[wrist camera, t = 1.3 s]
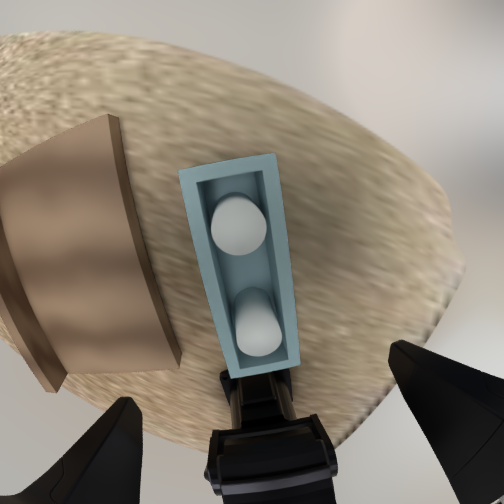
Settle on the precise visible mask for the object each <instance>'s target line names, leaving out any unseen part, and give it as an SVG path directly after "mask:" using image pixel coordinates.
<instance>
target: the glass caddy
mask: <svg viewBox="0 0 504 504" xmlns="http://www.w3.org/2000/svg"><path fill="white" fill-rule="evenodd" d="M178 174H179V179H180V184H181V189H182V194H183V199H184V203H185V208H186V213H187V217H188V222H189V226H190V231H191V235H192V239H193V244H194V248H195V252H196V256H197V260H198V264H199V268H200V272H201V276H202V280H203V284H204V288H205V292H206V295H207V299H208V303H209V306H210V310H211V314H212V317H213V321H214V324H215V328H216V331H217V335H218V338H219V342H220V345H221V348H222V352H223V355H224V358H225V361H226V365H227V368H228V371H229V374H230V377H231V379H232V378H238V377H244V376H250V375H256V374H261V373H266V372H271V371H276V370H281V369H285V368H290V367H294V366H298V365H301V363H300V351H299V339H298V328H297V317H296V307H295V297H294V288H293V279H292V270H291V261H290V253H289V245H288V237H287V229H286V221H285V214H284V207H283V199H282V192H281V186H280V179H279V172H278V166H277V159H276V153H269V154H263V155H256V156H249V157H243V158H237V159H232V160H226V161H221V162H215V163H210V164H205V165H200V166H196V167H191V168H186V169H182V170H178Z"/></svg>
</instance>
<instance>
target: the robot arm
mask: <svg viewBox="0 0 504 504" xmlns="http://www.w3.org/2000/svg"><path fill="white" fill-rule="evenodd" d="M388 363H389V367H390V369H391V371H392V373H393V375H394V378H395V380H396V382H397V384H398V386H399V389H400V391H401V393H402V395H403V397H404V399H405V401H406V403H407V405H408V407H409V408H410V410H411V412H412V413H413V415H414V417H415V419H416V420H417V422H418V424H419V426H420V427H421V429H422V431H423V433H424V434H425V436H426V438H427V440H428V441H429V443H430V445H431V447H432V449H433V451H434V453H435V455H436V457H437V458H438V460H439V462H440V464H441V466H442V468H443V470H444V472H445V474H446V476H447V478H448V480H449V482H450V484H451V486H452V488H453V490H454V492H455V494H456V497H457V499H458V501H459V503H460V504H491V503H492V502H494V501H496V500H497V499H500V500H499V501H498V502H497V503H496V504H504V379H502V378H499V377H496V376H493V375H490V374H488V373H485V372H481V371H480V370H477V369H474V368H472V367H469V366H467V365H464V364H462V363H459V362H457V361H454V360H451V359H449V358H446V357H444V356H441V355H439V354H436V353H434V352H432V351H429V350H427V349H424V348H422V347H419V346H417V345H415V344H412V343H410V342H407V341H405V340H398V341H396V342H393V343H392V344H391V346H390V352H389V358H388ZM224 376H226V377H224ZM220 381H221V384H222V386H223V389H224V392H225V394H226V397H227V400H228V402H229V405H230V408H231V420H232V429H229V430H219V429H218V430H213V432H212V437H210V445H209V453H208V462H207V466H206V469H205V471H204V477H205V479H206V480H208V481H209V482H210V483H211V486H212V488H213V491H214V493H215V494H216V495H217V496H218V495H222V498H223V503H224V504H336V500H335V493H334V486H333V480H332V477H334V476H336V475H337V473H338V464H337V458H336V454H335V450H334V447H333V444H332V442H331V440H330V438H329V437H328V435H327V433H326V431H325V429H324V427H323V425H322V424H321V422H320V420H319V418H318V416H317V414H313V415H310V416H309V417H304V418H300V419H297V418H296V414H295V411H294V407H293V404H292V402H293V398H292V389H291V380H290V371H289V368H285V369H281V370H276V371H271V372H266V373H261V374H256V375H250V376H244V377H238V378H232V379H231V377H230V374H229V371H226V372H222V373H220ZM142 419H143V417H142V412H141V410H140V409H139V407H138V406H137V404H136V403H135V402H134V400H133V399H132V398H131V397H120V398H118V399H117V400H116V401H115V403H114V404H113V405H112V406H111V407H110V408H109V409H108V410H107V411H106V412H105V413H104V414H103V415H102V416H101V417H100V418H99V419H98V420H97V421H96V422H95V423H94V424H93V425H92V426H91V427H90V428H89V429H88V430H87V432H85V433H84V435H82V437H81V438H80V439H79V440H78V441H77V442H76V443H75V444H74V445H73V446H72V447H71V448H70V449H69V450H68V451H67V452H66V453H65V454H64V455H63V457H61V458H60V459H59V460H58V461H57V462H56V463H55V464H54V465H53V466H52V467H51V468H50V469H49V470H48V471H47V472H46V473H44V474H43V475H42V476H41V477H39V478H38V479H37V480H36V481H34V482H33V483H32V484H31V485H29V486H28V487H27V488H26V489H24V490H23V491H22V492H20V493H18V494H15V495H10V496H0V504H139V503H140V481H141V468H142V455H143V437H142V436H143V434H142V433H143V432H142Z"/></svg>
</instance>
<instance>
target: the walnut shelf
mask: <svg viewBox="0 0 504 504" xmlns="http://www.w3.org/2000/svg"><path fill="white" fill-rule="evenodd" d="M0 316H1V318H2V320H3V322H4V324H5V326H6V328H7V330H8V332H9V334H10V335H11V337H12V339H13V341H14V343H15V344H16V346H17V348H18V350H19V351H20V353H21V355H22V356H23V358H24V360H25V361H26V363H27V364H28V366H29V368H30V369H31V370H32V372H33V374H34V375H35V377H36V378H37V379H38V381H39V382H40V384H41V385H42V387H43V388H44V389H45V391H46V392H51V393H57V392H58V390H59V389H60V387H61V385H62V383H63V381H64V379H65V377H66V376H67V374H68V373H82V374H96V373H129V372H146V371H159V370H170V369H179V367H180V361H181V355H182V353H181V351H180V348H179V346H178V343H177V341H176V338H175V336H174V333H173V330H172V328H171V325H170V322H169V320H168V317H167V314H166V311H165V308H164V306H163V303H162V300H161V297H160V294H159V291H158V288H157V285H156V281H155V278H154V275H153V272H152V269H151V265H150V262H149V259H148V255H147V252H146V248H145V245H144V241H143V237H142V234H141V230H140V226H139V222H138V218H137V214H136V210H135V206H134V201H133V197H132V192H131V188H130V183H129V178H128V173H127V168H126V163H125V157H124V152H123V146H122V140H121V133H120V126H119V119H118V117H115V116H113V115H110V114H105V115H103V116H100V117H97V118H95V119H92V120H90V121H88V122H85V123H83V124H80V125H78V126H76V127H74V128H71V129H69V130H67V131H65V132H63V133H61V134H58V135H56V136H54V137H52V138H50V139H48V140H46V141H45V142H43V143H41V144H39V145H37V146H35V147H33V148H32V149H30V150H28V151H26V152H24V153H23V154H21V155H19V156H18V157H16V158H14V159H13V160H11V161H10V162H8V163H6V164H5V165H3V166H2V167H0Z"/></svg>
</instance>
